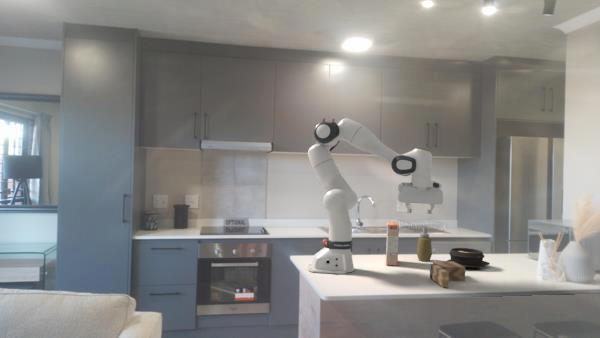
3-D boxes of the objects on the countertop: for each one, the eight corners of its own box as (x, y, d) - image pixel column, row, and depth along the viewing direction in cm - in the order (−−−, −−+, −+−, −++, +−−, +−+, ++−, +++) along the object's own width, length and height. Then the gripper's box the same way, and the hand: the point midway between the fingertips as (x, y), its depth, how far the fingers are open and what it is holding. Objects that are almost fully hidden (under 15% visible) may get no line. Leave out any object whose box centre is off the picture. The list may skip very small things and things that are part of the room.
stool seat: (432, 280, 181) (432, 266, 181) (423, 273, 193) (423, 261, 193) (465, 280, 181) (465, 267, 181) (453, 274, 193) (453, 261, 193)
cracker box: (398, 266, 208) (399, 225, 208) (386, 265, 209) (386, 224, 209) (397, 260, 221) (398, 222, 222) (386, 260, 223) (386, 221, 223)
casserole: (461, 272, 198) (461, 255, 198) (434, 264, 215) (434, 248, 215) (499, 269, 207) (499, 252, 208) (470, 261, 224) (470, 246, 225)
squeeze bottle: (429, 262, 219) (430, 228, 219) (414, 260, 223) (415, 227, 223) (433, 260, 225) (434, 227, 226) (418, 258, 230) (419, 226, 230)
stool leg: (429, 276, 185) (429, 263, 185) (435, 277, 185) (435, 263, 185) (442, 286, 169) (442, 272, 169) (448, 287, 169) (448, 272, 169)
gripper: (400, 182, 187) (399, 212, 187) (445, 184, 187) (443, 215, 187) (396, 181, 193) (395, 211, 193) (440, 184, 193) (438, 213, 193)
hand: (419, 213), depth 190 cm, fingers open, 8 cm apart
